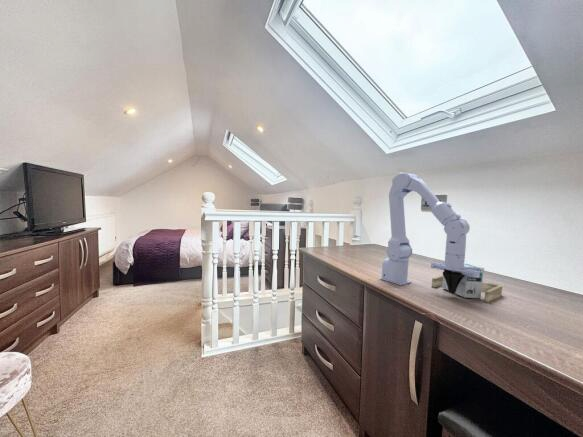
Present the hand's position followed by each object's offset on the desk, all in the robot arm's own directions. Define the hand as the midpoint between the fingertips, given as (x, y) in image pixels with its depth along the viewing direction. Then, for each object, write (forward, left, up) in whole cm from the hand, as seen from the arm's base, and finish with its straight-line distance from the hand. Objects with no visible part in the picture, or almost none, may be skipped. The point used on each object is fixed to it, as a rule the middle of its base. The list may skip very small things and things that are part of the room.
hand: (452, 292), depth 87 cm
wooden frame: (0, +11, -1) cm, 11 cm away
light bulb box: (0, +7, -1) cm, 7 cm away
